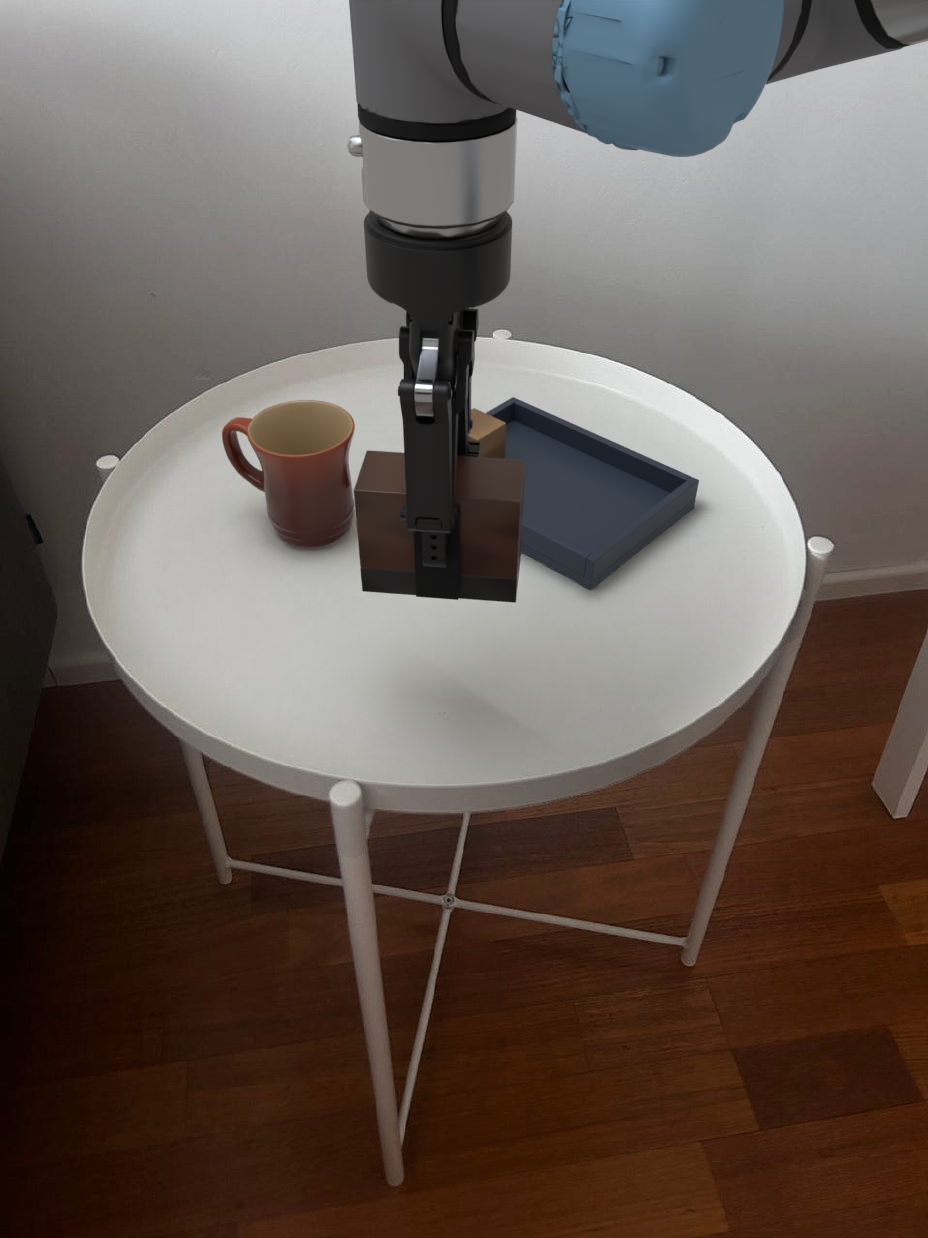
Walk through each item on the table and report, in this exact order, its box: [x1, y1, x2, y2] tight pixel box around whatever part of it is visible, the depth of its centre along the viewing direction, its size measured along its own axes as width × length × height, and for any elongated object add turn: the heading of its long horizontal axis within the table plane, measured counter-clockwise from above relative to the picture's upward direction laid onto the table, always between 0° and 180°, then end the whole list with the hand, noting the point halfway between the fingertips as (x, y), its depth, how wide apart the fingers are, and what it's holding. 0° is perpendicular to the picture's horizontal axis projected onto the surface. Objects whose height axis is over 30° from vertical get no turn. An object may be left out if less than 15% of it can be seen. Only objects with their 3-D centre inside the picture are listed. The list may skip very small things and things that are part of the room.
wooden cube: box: [468, 407, 506, 459], centre depth 94 cm, size 4×4×4 cm
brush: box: [353, 450, 526, 604], centre depth 64 cm, size 10×4×8 cm, turn 84°
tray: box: [485, 396, 700, 591], centre depth 91 cm, size 22×16×3 cm
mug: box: [221, 399, 356, 548], centre depth 86 cm, size 12×9×10 cm
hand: (442, 568), depth 66 cm, fingers closed on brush, 4 cm apart
